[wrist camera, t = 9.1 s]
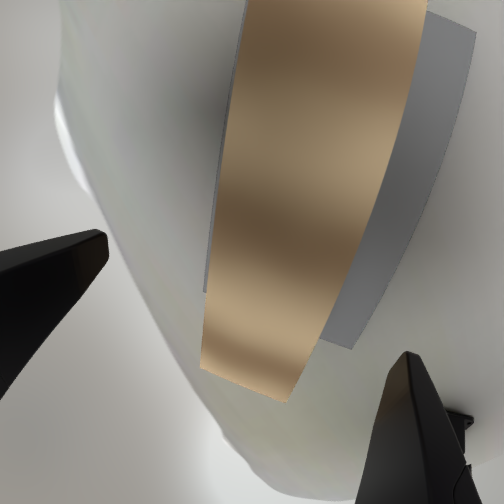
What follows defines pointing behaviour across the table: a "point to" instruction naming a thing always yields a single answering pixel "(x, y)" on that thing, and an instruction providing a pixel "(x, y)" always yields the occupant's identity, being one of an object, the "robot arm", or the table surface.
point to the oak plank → (300, 175)
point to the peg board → (396, 173)
